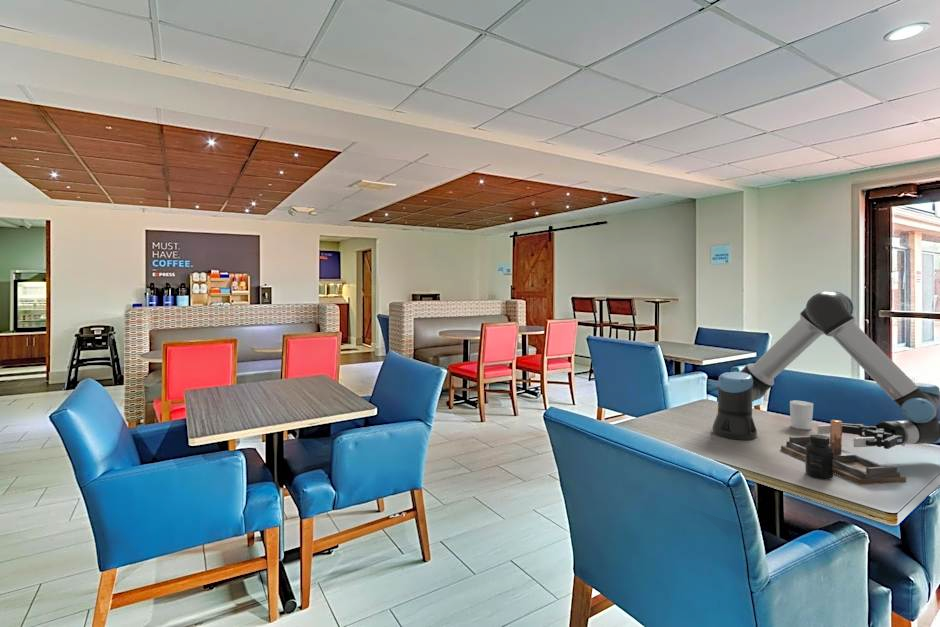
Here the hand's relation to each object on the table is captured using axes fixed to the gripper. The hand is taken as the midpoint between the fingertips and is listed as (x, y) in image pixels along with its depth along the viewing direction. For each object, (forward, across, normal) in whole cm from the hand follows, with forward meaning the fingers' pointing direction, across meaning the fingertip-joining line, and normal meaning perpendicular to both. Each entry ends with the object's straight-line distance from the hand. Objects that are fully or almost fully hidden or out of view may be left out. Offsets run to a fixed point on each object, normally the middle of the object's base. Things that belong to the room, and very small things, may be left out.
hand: (835, 435), depth 154 cm
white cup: (-21, +38, -9) cm, 45 cm away
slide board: (0, 0, -9) cm, 9 cm away
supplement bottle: (+13, -8, -9) cm, 18 cm away
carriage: (0, 0, -7) cm, 7 cm away
